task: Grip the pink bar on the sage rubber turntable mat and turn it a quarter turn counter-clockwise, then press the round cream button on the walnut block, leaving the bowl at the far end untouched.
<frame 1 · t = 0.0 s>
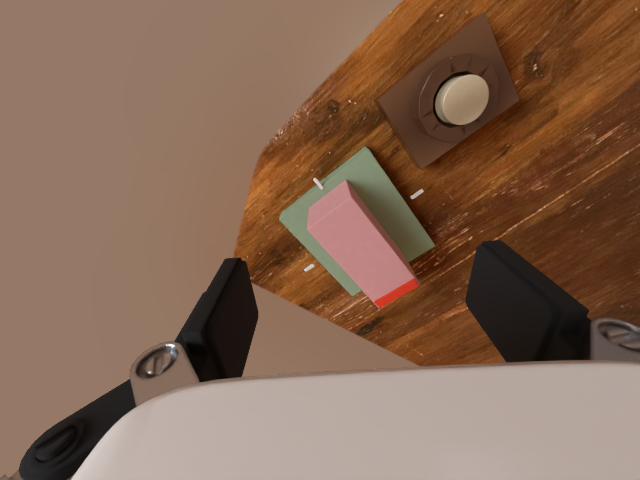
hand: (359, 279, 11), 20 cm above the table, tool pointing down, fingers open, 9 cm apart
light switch: (439, 100, 26), on the table
button: (460, 100, 22), point 4 cm above the table, slide at 0.1 cm
green mat: (357, 225, 33), on the table
pink bar: (362, 245, 28), point 5 cm above the table, hinge at 0.0°
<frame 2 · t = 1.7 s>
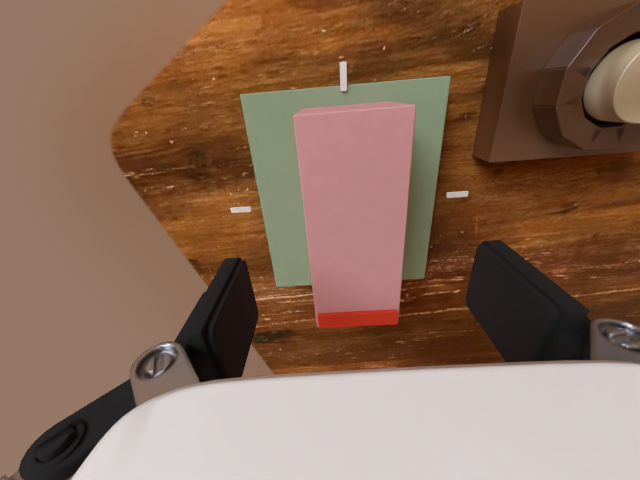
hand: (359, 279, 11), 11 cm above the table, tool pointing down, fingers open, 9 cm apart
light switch: (565, 84, 17), on the table
button: (639, 81, 13), point 4 cm above the table, slide at 0.1 cm
green mat: (345, 192, 20), on the table
pink bar: (351, 219, 16), point 5 cm above the table, hinge at 0.0°
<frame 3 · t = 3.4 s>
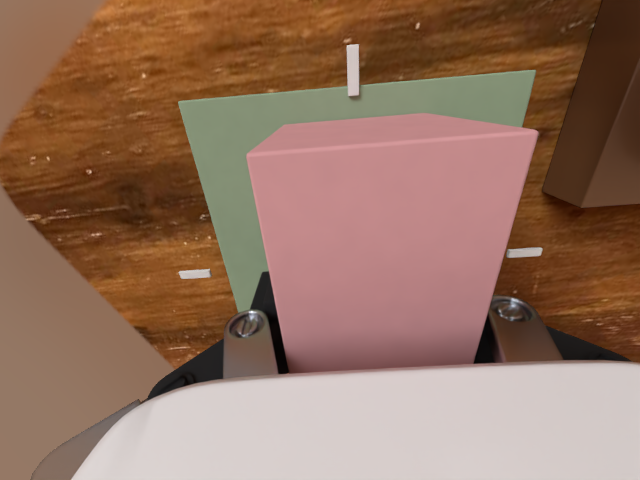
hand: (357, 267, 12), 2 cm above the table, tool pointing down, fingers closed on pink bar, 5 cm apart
green mat: (351, 241, 14), on the table
pink bar: (365, 306, 10), point 5 cm above the table, hinge at 0.0°, touching gripper
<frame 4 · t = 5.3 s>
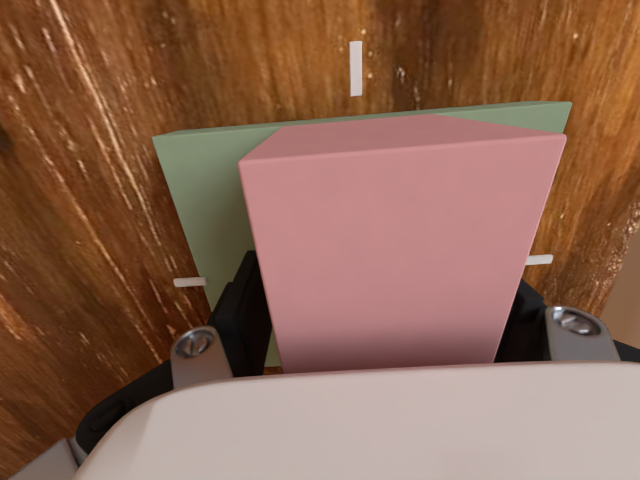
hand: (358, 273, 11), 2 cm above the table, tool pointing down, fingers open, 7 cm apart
green mat: (353, 247, 14), on the table
pink bar: (368, 318, 9), point 5 cm above the table, hinge at 90.1°
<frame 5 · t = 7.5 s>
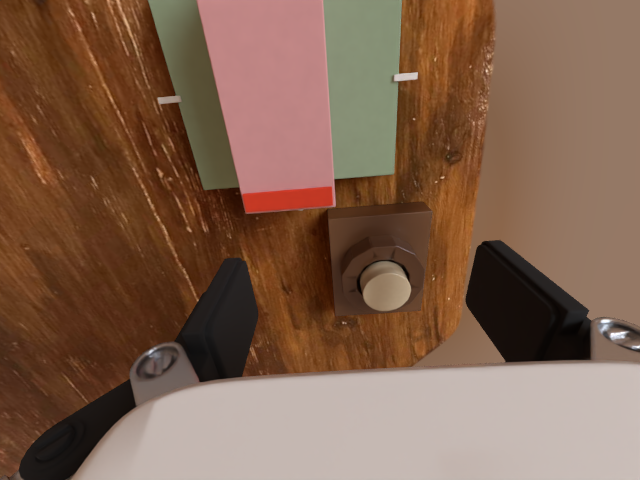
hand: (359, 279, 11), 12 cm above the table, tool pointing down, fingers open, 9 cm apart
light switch: (374, 256, 25), on the table
button: (384, 286, 21), point 4 cm above the table, slide at 0.1 cm
green mat: (289, 89, 19), on the table
pink bar: (279, 87, 14), point 5 cm above the table, hinge at 90.1°
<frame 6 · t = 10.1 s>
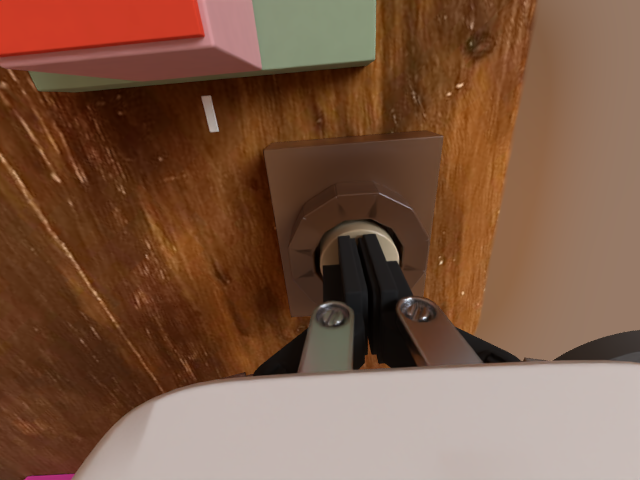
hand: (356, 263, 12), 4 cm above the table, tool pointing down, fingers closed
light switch: (350, 224, 16), on the table
button: (357, 255, 13), point 4 cm above the table, slide at -0.8 cm, touching gripper
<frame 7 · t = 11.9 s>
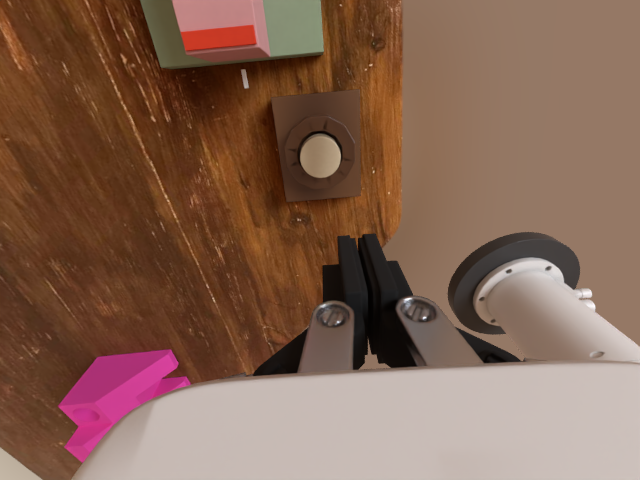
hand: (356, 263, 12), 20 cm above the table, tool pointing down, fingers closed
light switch: (319, 147, 28), on the table
button: (320, 156, 25), point 4 cm above the table, slide at 0.1 cm
bracket: (148, 372, 46), on the table
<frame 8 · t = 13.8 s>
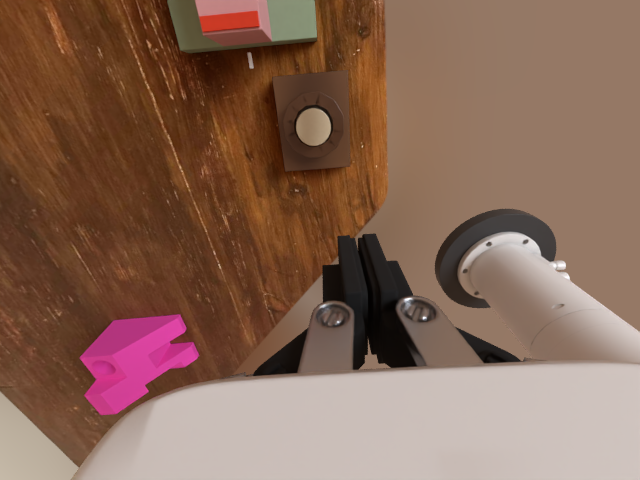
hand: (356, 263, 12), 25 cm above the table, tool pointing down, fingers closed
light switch: (314, 123, 33), on the table
button: (313, 126, 29), point 4 cm above the table, slide at 0.1 cm
bracket: (158, 337, 50), on the table
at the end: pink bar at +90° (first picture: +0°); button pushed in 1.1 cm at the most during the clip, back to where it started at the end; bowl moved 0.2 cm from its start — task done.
